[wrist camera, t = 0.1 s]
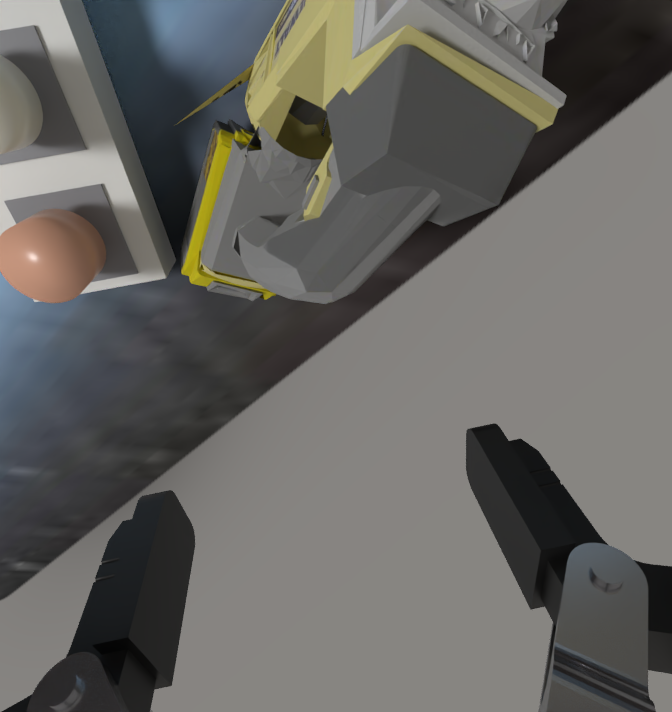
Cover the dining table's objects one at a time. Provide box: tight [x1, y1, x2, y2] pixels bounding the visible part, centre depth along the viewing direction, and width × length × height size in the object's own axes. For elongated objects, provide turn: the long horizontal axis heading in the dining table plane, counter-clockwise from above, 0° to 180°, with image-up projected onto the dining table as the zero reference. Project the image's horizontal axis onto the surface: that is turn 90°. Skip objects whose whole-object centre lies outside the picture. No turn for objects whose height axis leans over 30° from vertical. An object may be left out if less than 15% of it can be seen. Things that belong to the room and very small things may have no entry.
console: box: [0, 0, 176, 302], centre depth 28 cm, size 25×10×4 cm, turn 8°
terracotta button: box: [0, 209, 106, 303], centre depth 28 cm, size 5×5×4 cm
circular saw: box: [174, 0, 568, 304], centre depth 23 cm, size 10×30×25 cm
